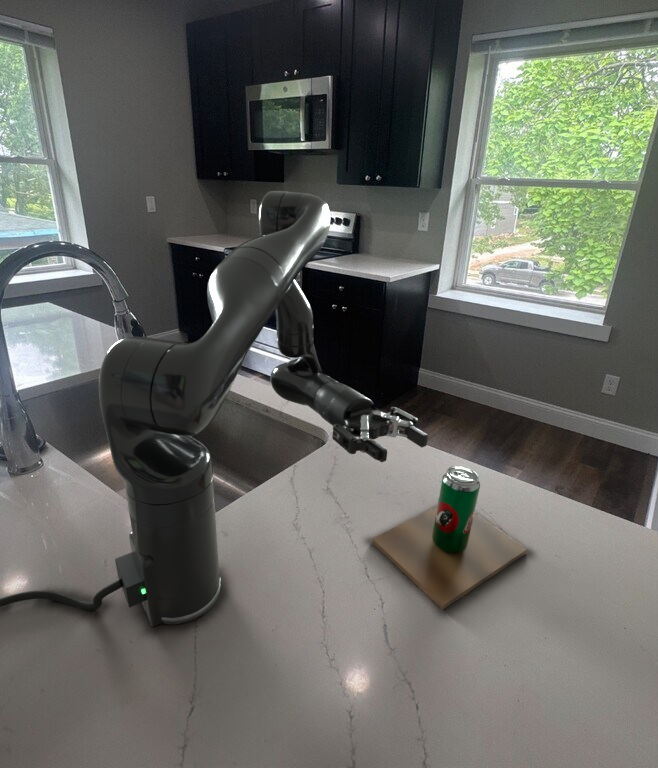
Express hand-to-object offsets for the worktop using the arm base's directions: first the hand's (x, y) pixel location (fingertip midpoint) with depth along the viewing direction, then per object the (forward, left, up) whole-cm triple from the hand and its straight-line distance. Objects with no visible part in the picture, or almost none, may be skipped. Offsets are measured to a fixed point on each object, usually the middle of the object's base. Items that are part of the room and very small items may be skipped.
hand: (406, 449), depth 72 cm
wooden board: (0, -11, -11) cm, 16 cm away
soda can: (0, -11, -11) cm, 15 cm away
